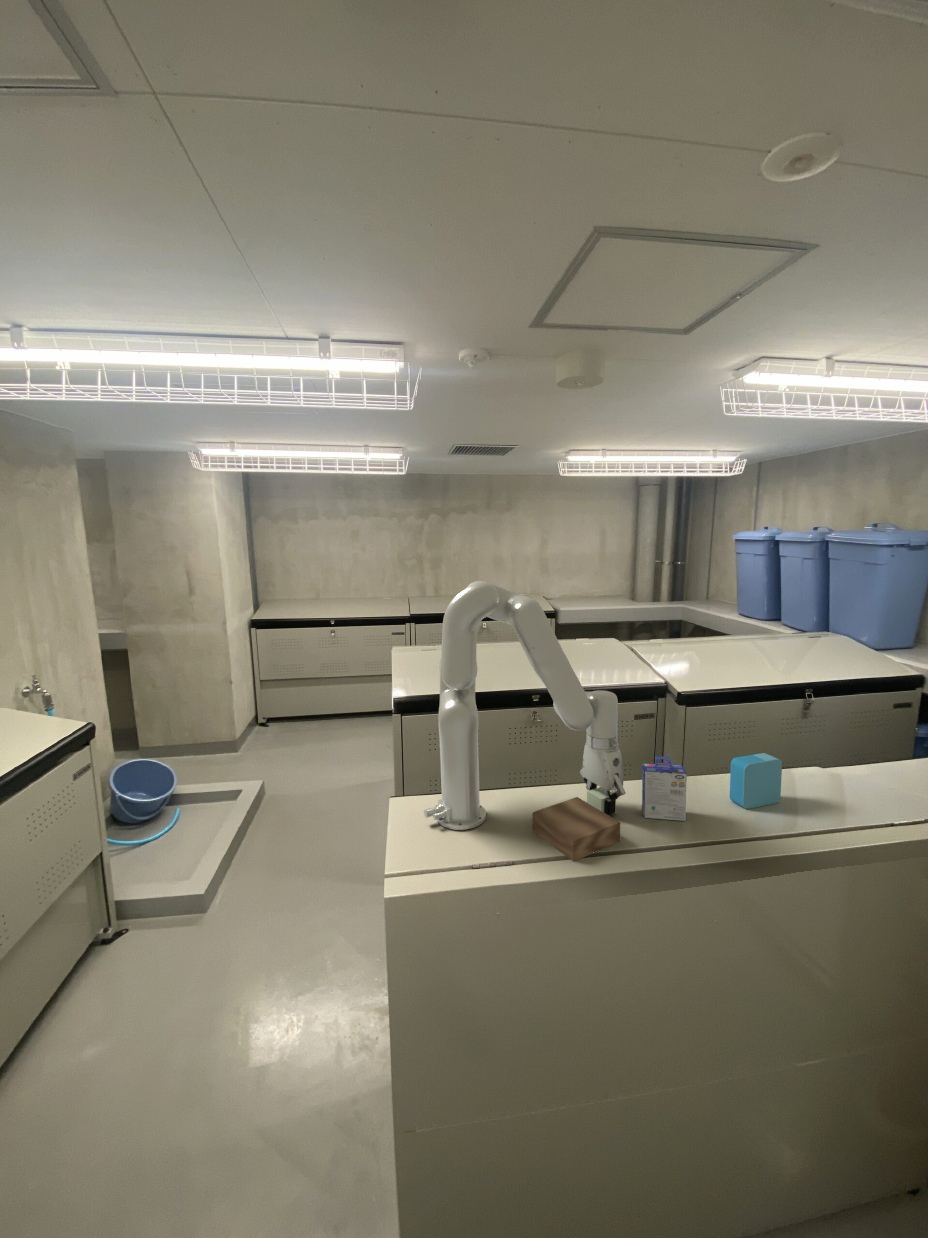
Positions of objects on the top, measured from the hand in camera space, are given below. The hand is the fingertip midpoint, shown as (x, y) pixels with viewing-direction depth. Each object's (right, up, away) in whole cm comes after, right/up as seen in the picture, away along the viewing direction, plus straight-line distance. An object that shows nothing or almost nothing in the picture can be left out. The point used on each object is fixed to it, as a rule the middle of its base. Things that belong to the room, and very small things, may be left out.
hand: (601, 808), depth 121 cm
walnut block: (-9, -3, -10) cm, 14 cm away
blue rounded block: (+41, 0, +3) cm, 41 cm away
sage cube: (0, -1, 0) cm, 1 cm away
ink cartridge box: (+15, -1, -2) cm, 15 cm away
